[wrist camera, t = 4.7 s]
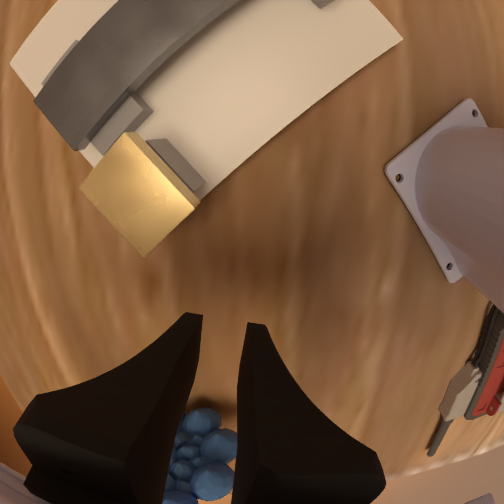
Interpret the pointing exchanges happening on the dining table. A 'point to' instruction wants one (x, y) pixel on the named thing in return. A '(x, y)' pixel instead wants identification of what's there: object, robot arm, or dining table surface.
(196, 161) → the latch base plate
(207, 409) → the grapes
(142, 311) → the dining table surface
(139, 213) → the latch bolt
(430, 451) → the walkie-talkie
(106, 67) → the strap
